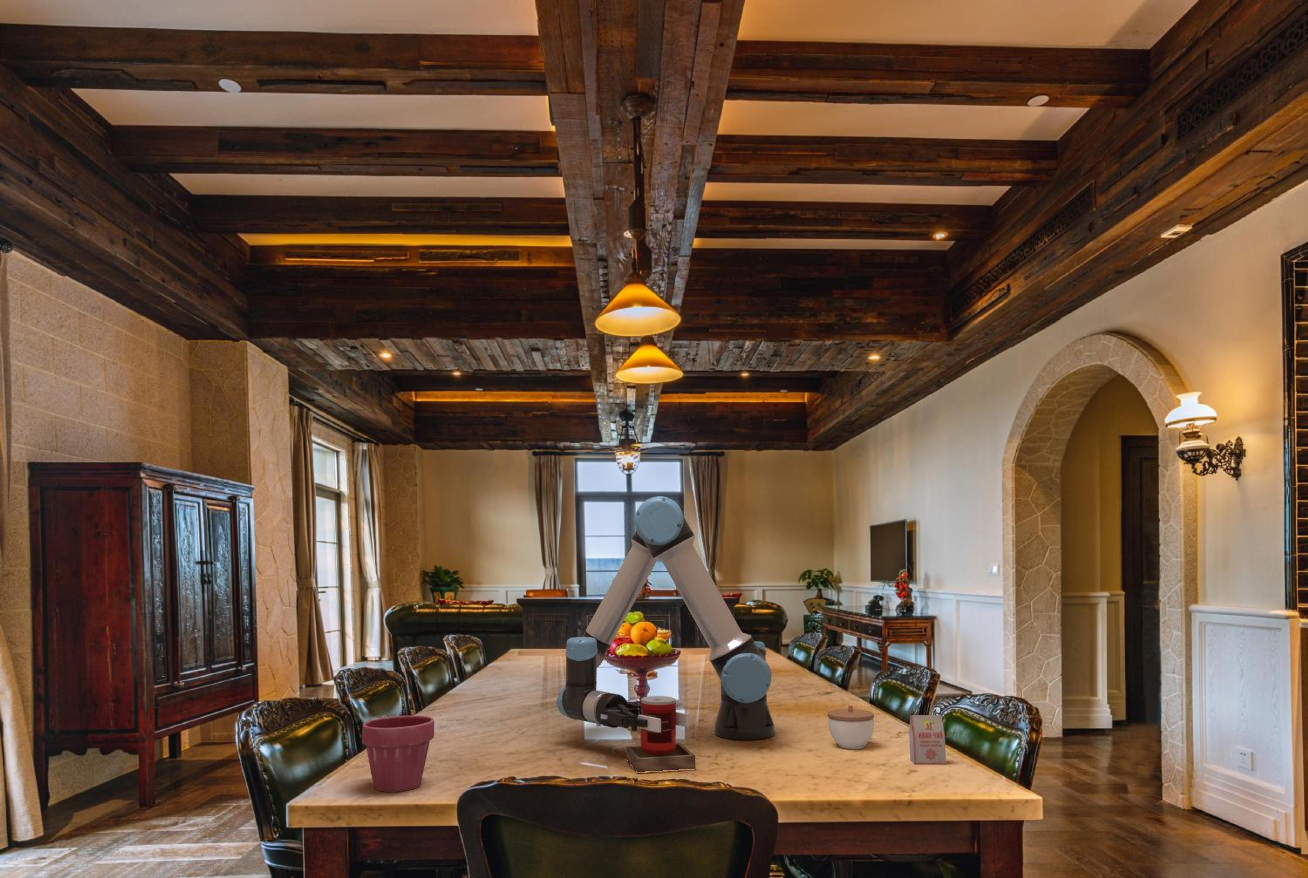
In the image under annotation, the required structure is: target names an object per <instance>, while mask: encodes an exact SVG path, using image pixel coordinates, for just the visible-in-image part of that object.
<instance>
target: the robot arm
mask: <svg viewBox="0 0 1308 878" xmlns="http://www.w3.org/2000/svg"><path fill="white" fill-rule="evenodd" d="M634 527H635V532H634V534H633V536H632V538H631V539H630V541H631V544H632V546H631V548H630V550H629V552H628V553H627V555H626V556H625V558H624V561H623V562H622V564H621V566H620V567H619V569H618V572H617V573H616V574H615V577H614V578H613V580H612V582H611V583H610V586H609V587H608V589H607V591H606V593H605V594H604V596H603V599H602V600H601V602H600V604H599V605H598V607H597V609H596V611H595V613H594V615H593V617H592V618H591V620H590V621H589V624H588V626H587V627H586V630H585V631H584V633H583V635H582V636H576V637H570V638H568V639H567V640H566V649H565V686H564V687H563V688H561V690H560V691H559V692H558V693H559V694H558V696H557V697H556V706H557V710H558V711H559V713H560V714H561V715H562V716H564V717H567V718H570V719H571V720H575V721H582V722H587V723H591V724H596V726H597V727H601V726H604V727H608V728H612V729H615V728H616V729H617V728H622V729H629V727H630V728H631V732H637V731H638V729H640V730H641V729H645V730H649V731H654V732H661V719H659V718H654V717H649V716H644V715H641V704H635V703H632V702H628V701H627V699H626V698H625V697H624V696H623V695H621V694H619V693H614V692H608V691H603V690H597V681H598V680H597V677H598V675H597V674H598V673H597V672H598V670H597V669H598V668H599V667H600V666H601V665H602V663H603V662H604V660H605V656H606V654H607V653H608V651H609V649H610V647H611V644H612V643H613V641H614V640H615V638H616V635H617V634H618V632H619V630H620V628H621V626H622V625H623V623H624V622H625V620H626V618H627V616H628V615H629V613H630V610H631V609H632V607H633V605H634V603H635V602H636V600H637V598H638V596H639V595H640V592H641V591H642V589H643V587H644V585H645V583H646V581H647V580H648V578H649V576H650V575H651V573H652V570H653V569H654V567H655V565H656V564H657V562H661V563H662V564H663V565H664V567H665V569H666V571H667V573H668V575H669V576H670V578H671V580H672V581H673V583H674V586H675V587H676V590H677V591H678V592H679V594H680V596H681V598H682V600H683V602H684V603H685V605H686V607H687V609H688V611H689V613H690V614H691V616H692V618H693V620H694V621H695V623H696V625H697V627H698V628H699V631H700V632H701V635H702V636H703V638H704V640H705V641H706V643H707V645H708V647H709V649H710V653H709V658H708V659H709V662H710V663H711V665H712V667H713V669H714V671H715V673H716V674H717V676H718V677H719V680H720V704H719V709H718V712H717V716H716V719H715V723H714V735H716V736H717V737H719V738H724V739H728V740H729V739H730V740H738V741H740V740H741V741H742V740H743V741H744V740H747V741H749V740H750V741H751V740H752V741H753V740H762V739H767V738H771V737H774V736H775V724H774V720H773V717H772V715H771V710H770V708H769V705H768V701H767V700H768V699H767V696H768V695H767V692H768V691H769V688H770V687H771V683H772V671H771V668H770V665H769V664H768V662H767V660H766V657H767V656H766V655H767V650H766V645H765V642H763V641H755V640H754V639H753V637H752V635H751V634H748V633H745V632H742V630H741V628H740V627H739V625H738V623H737V621H736V619H735V618H734V616H733V614H732V612H731V610H730V608H729V607H728V605H727V603H726V602H725V600H724V598H723V596H722V595H721V593H720V591H719V589H718V588H717V586H716V583H715V581H714V580H713V579H712V577H711V575H710V573H709V572H708V569H707V568H706V566H705V564H704V563H703V561H702V559H701V557H700V556H699V553H698V551H697V550H696V548H695V546H694V543H695V540H696V539H695V538H696V535H695V533H694V532H693V530H692V528H691V527H690V524H689V523H688V521H687V519H686V517H685V516H684V514H683V511H682V509H681V507H680V506H679V504H678V503H677V502H676V501H675V500H673V499H671V498H669V497H667V496H661V495H660V496H658V495H657V496H652V497H650V498H648V499H646V500H645V501H643V502H642V503H641V504H640V505H639V507H638V508H637V510H636V512H635V514H634ZM676 726H679V727H685V728H689V727H690V713H686V712H681V711H676Z"/></svg>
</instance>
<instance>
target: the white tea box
mask: <svg viewBox="0 0 1308 878" xmlns="http://www.w3.org/2000/svg"><path fill="white" fill-rule="evenodd" d="M908 735H909V739H908V741H909V757H910V758H909V761H910V762H911V764H913V765H915V766H917V765H919V766H920V765H921V766H923V765H926V766H929V765H930V766H931V765H933V766H936V765H937V766H944V765H947V756H946V752H947V751H946V735H945V729H944V724H943V716H942V715H939V714H938V715H936V714H935V715H934V714H929V715H927V714H926V715H925V714H924V715H923V714H922V715H919V714H917V715H916V714H913V715H909V731H908Z"/></svg>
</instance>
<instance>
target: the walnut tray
mask: <svg viewBox="0 0 1308 878" xmlns="http://www.w3.org/2000/svg"><path fill="white" fill-rule="evenodd" d="M625 748H626V749H625V754H626V755H625V757H626V758H625V760H626V759H627V760H628V762H629V763H630V764H631V765H632V766H633V768H634V769H635V770H636V771H637V772H645V771H663V770H679V769H695V770H696V755H695V754H694V753H693V752H692V751H691V750H689V749H688V748H687V747H686V746H684V745H683V744H682V743H680V742H679V743H677V742H676V748H675V751H674V752H672V753H669V754H649V753H645V752H643V751H642V748H641V745H631V746H630V745H629V746H625ZM628 762H627V763H628ZM629 763H628V764H629ZM630 764H629V765H630ZM633 768H632V769H633ZM634 769H633V770H634Z"/></svg>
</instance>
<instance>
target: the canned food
mask: <svg viewBox="0 0 1308 878" xmlns="http://www.w3.org/2000/svg"><path fill="white" fill-rule="evenodd" d="M676 703H677V701H676V698H674V697H672V696H665V695H651V696H643V697H642V698H641V699H640V705H641V715H644V716H649V717H654V718H659V719H661V732H654V731H649V730H645V729H640V746H641V748H642V751H643V752H645V753H649V754H669V753H672V752H674V751H675V748H676V743H677V725H676V712H677V704H676Z"/></svg>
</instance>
